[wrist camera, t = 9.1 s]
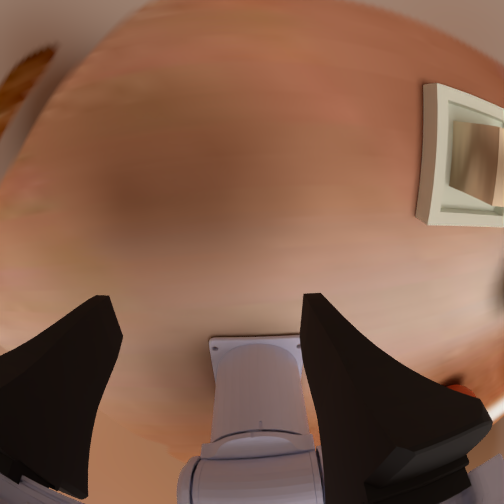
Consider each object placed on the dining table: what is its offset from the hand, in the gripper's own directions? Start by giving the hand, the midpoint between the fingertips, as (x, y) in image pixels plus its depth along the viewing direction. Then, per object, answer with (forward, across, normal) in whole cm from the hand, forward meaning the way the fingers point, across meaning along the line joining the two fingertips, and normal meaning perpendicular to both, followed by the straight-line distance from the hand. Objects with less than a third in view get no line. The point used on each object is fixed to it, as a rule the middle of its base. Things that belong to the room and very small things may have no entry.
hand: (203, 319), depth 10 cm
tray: (+10, -19, -5) cm, 22 cm away
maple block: (+9, -19, -6) cm, 22 cm away
